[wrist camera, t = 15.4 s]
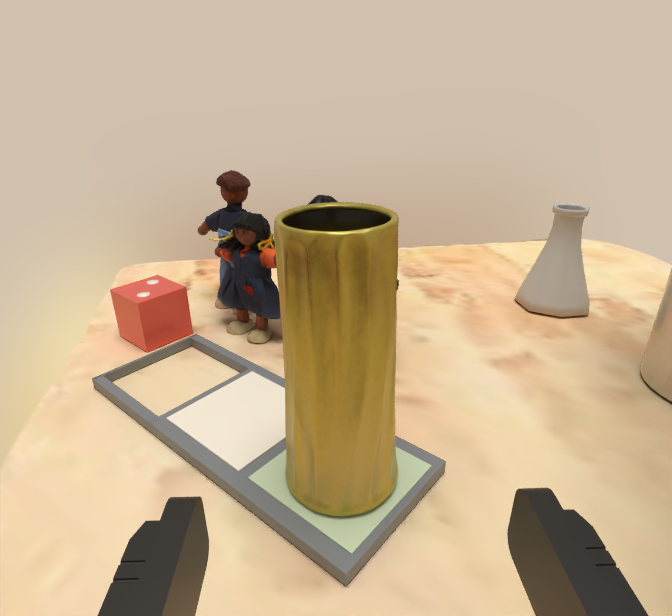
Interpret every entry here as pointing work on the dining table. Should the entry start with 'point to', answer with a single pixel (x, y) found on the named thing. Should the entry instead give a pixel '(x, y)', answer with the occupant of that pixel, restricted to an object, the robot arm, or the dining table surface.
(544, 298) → the flask
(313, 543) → the game board
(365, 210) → the vase
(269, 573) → the dining table surface
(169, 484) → the dining table surface
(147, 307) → the red die
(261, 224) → the doll family
